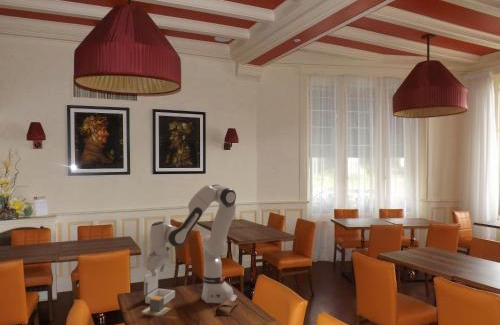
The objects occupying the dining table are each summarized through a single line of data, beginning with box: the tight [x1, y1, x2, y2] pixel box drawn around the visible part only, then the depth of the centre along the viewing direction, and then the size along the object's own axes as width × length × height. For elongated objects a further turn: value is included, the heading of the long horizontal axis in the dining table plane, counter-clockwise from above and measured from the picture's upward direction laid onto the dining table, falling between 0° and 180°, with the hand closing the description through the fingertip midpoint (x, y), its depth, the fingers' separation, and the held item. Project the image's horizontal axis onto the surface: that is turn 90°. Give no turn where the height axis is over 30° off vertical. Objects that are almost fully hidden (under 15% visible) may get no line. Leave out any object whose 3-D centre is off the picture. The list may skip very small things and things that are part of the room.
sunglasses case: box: [215, 298, 239, 316], centre depth 229 cm, size 18×7×7 cm, turn 166°
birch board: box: [140, 305, 172, 317], centre depth 224 cm, size 14×10×1 cm
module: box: [149, 296, 165, 312], centre depth 224 cm, size 6×5×7 cm
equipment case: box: [143, 269, 176, 306], centre depth 240 cm, size 13×15×17 cm
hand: (157, 273), depth 225 cm, fingers open, 8 cm apart
